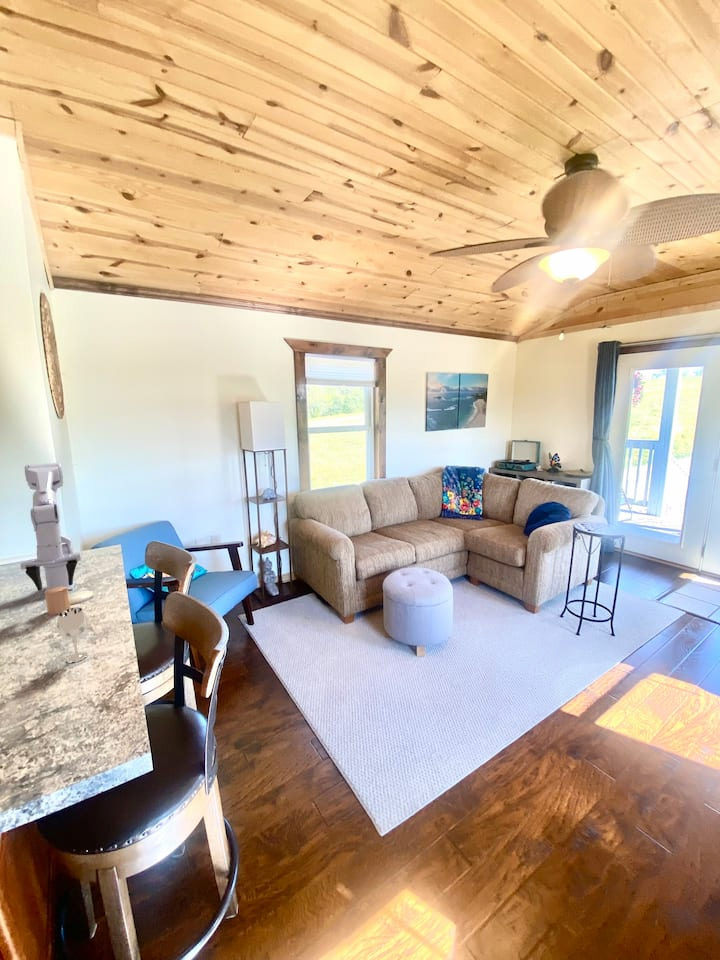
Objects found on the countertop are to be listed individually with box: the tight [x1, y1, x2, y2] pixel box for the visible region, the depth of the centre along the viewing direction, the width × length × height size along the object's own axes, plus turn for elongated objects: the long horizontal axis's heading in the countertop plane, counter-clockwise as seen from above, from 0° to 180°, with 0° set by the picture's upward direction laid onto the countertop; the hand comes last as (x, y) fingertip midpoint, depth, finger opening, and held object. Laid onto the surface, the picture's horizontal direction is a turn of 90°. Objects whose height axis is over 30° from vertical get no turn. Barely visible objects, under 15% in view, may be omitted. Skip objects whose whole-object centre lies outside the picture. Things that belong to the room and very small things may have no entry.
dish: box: [68, 590, 94, 606], centre depth 131 cm, size 9×9×1 cm
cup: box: [44, 586, 71, 616], centre depth 122 cm, size 6×6×7 cm
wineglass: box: [56, 606, 89, 661], centre depth 96 cm, size 6×6×12 cm
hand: (55, 586), depth 122 cm, fingers open, 7 cm apart
